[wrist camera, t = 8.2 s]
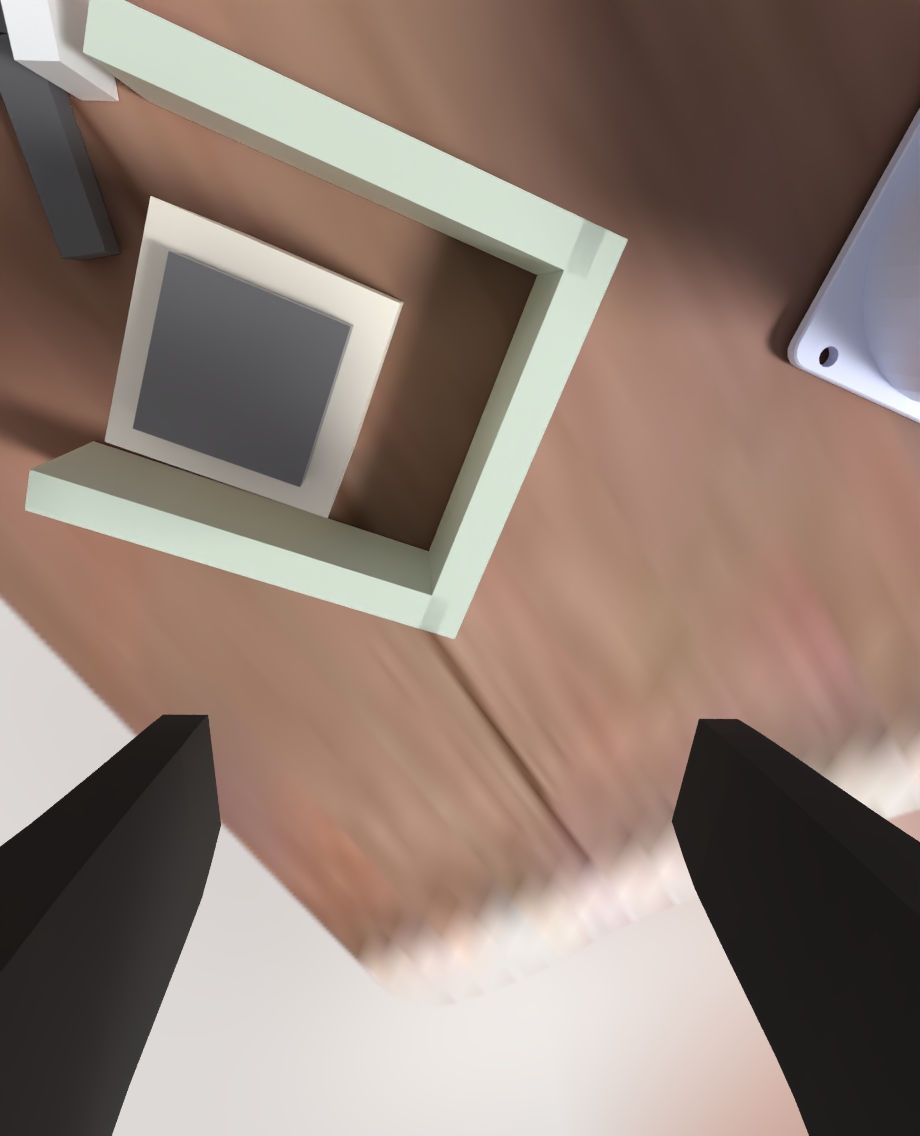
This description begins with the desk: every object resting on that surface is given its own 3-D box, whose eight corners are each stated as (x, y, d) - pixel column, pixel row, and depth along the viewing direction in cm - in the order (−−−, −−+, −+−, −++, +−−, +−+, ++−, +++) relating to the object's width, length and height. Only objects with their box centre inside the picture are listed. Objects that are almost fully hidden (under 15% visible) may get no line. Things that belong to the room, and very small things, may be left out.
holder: (589, 250, 15) (628, 239, 13) (447, 589, 19) (454, 639, 16) (157, 49, 13) (91, -16, 11) (88, 475, 17) (25, 510, 14)
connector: (354, 447, 17) (323, 529, 11) (207, 393, 16) (87, 449, 10) (403, 301, 16) (399, 303, 10) (246, 233, 15) (134, 188, 9)
